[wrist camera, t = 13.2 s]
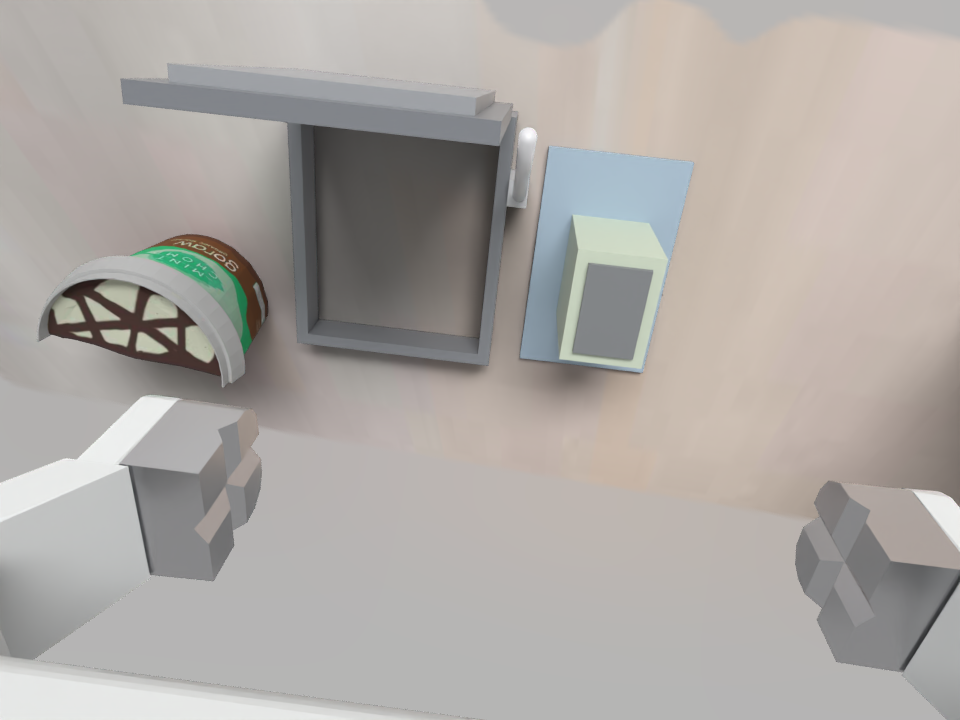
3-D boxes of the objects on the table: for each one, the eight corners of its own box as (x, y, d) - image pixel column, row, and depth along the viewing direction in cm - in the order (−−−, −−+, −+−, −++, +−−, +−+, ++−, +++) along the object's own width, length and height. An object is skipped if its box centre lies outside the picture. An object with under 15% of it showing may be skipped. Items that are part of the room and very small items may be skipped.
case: (539, 94, 40) (540, 130, 28) (506, 351, 48) (496, 460, 37) (298, 67, 40) (202, 92, 28) (308, 327, 48) (236, 427, 37)
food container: (296, 243, 45) (238, 299, 37) (287, 320, 48) (231, 389, 40) (119, 197, 45) (17, 243, 36) (121, 278, 48) (28, 339, 39)
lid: (511, 118, 37) (514, 92, 37) (499, 146, 22) (503, 101, 22) (287, 93, 38) (286, 67, 37) (123, 103, 22) (118, 59, 22)
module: (649, 223, 42) (669, 261, 36) (627, 320, 46) (641, 371, 39) (572, 214, 43) (578, 250, 36) (556, 312, 46) (559, 361, 39)
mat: (692, 161, 41) (694, 163, 40) (641, 370, 48) (642, 372, 48) (549, 145, 41) (549, 147, 41) (519, 355, 48) (519, 357, 48)
